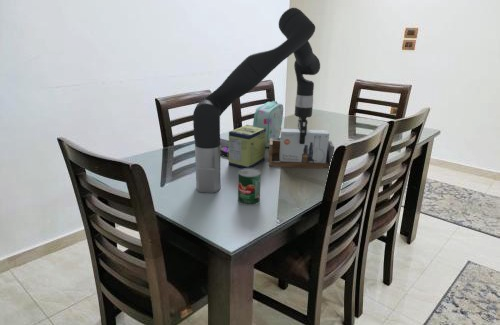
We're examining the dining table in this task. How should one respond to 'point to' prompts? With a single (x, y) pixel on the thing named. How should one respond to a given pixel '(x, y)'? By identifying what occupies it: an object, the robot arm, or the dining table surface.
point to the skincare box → (303, 146)
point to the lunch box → (269, 120)
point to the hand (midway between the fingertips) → (301, 140)
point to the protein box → (247, 146)
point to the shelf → (274, 154)
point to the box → (224, 147)
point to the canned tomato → (249, 186)
